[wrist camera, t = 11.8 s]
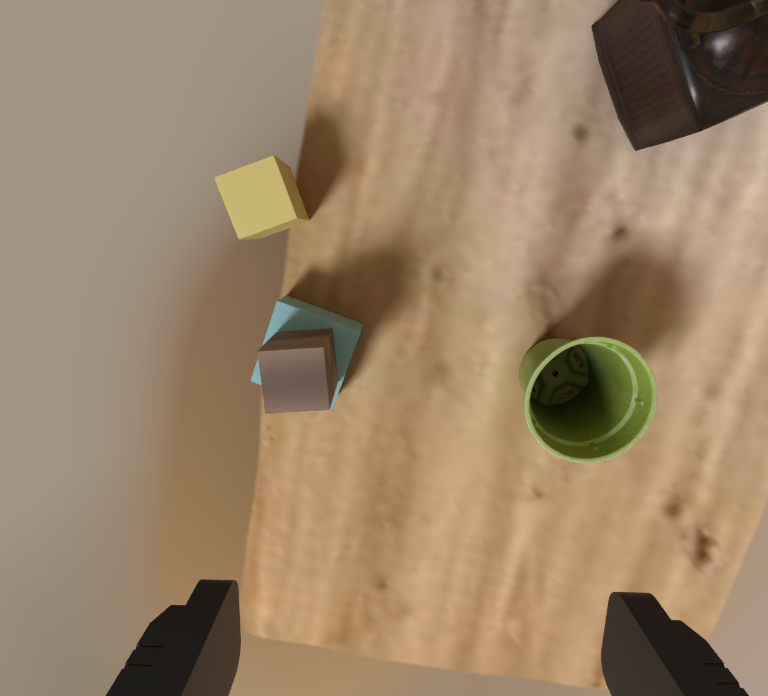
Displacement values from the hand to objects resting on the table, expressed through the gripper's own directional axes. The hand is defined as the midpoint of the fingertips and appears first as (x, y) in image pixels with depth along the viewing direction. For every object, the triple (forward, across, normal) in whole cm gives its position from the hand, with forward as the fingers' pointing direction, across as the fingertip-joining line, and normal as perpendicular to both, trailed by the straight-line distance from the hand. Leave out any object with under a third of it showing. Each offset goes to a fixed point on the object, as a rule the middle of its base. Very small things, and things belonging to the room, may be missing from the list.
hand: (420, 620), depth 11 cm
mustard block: (+34, +10, -10) cm, 37 cm away
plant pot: (+34, -14, +4) cm, 37 cm away
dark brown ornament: (+34, -18, -20) cm, 44 cm away
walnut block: (+30, +7, +2) cm, 31 cm away
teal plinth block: (+34, +7, +2) cm, 35 cm away
